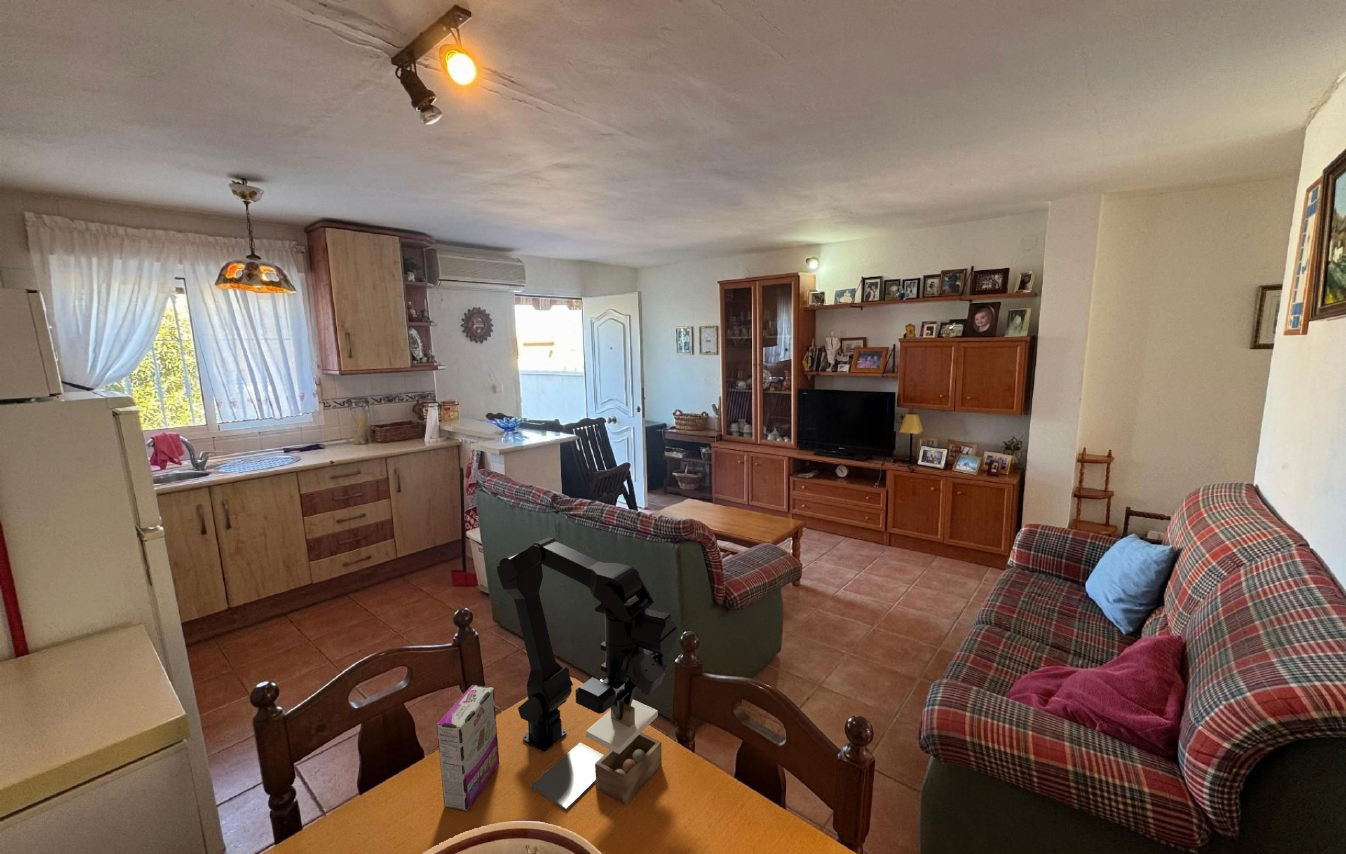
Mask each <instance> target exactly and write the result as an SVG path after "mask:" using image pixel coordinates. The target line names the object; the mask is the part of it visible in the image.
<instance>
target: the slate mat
mask: <svg viewBox="0 0 1346 854" xmlns="http://www.w3.org/2000/svg"><path fill="white" fill-rule="evenodd" d="M604 755H605V754H603V753H601V752H599V751H597V750H596V749H594V748H591V747H589V746H588V745H586V744H584V743H582V742H579V743H578V744H576V745H575V746H574V747H573V748H571V750H569V752H567V753H566V754H565V755H563V757H561V758H560V759H559V760H558V761H557V762H556V763H554V764H553V765H552V766H551V767H550V768H549V769H548V770H547V771H545V772H543V774H542V775H541V776H540V777H538V779H536V780H535V781H534V782H533V783H531V785H530V788H531V789H532V790H534V791H535V792H537V793H538V794H540V795H541V796H542V797H544V798H546V799H547V800H549V801H550V802H552V803H553V804H554V805H557V806H558V807H560V808H561V809H562V810H564V811H566V812H567V811H568V810H569V809H570V808H571V807H572V806H573V805H574V804H575V803H577V801H578V800H579V799H581V797H582V796H583V795H584V794H585V793H586V792H587V791H588V790H589V789H590V788H591V787H593V785H594V784H596V777H595V763H596V762H597V761H598V760H599V759H600V758H601V757H603V756H604Z"/></svg>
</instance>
